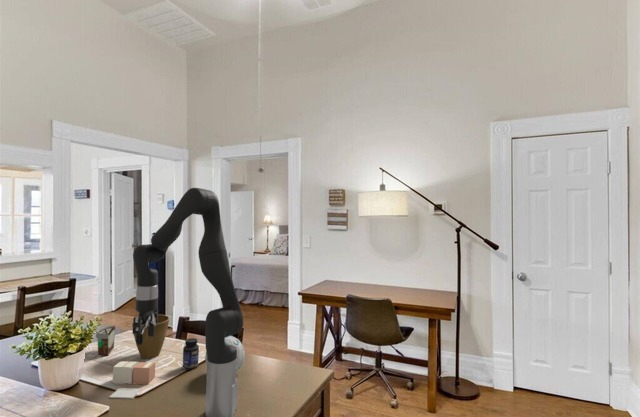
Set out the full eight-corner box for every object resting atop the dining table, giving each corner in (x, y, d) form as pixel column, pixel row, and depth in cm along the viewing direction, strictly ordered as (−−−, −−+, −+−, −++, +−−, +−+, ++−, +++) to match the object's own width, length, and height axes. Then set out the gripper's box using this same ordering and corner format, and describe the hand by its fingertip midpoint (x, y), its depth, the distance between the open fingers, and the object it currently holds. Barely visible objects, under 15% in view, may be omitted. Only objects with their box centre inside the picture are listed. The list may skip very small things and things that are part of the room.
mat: (141, 389, 123) (141, 388, 123) (132, 398, 117) (132, 397, 117) (119, 389, 123) (119, 388, 123) (109, 398, 117) (109, 396, 117)
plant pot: (132, 351, 157) (134, 316, 157) (168, 347, 162) (169, 313, 163) (128, 364, 143) (130, 326, 143) (167, 359, 149) (168, 322, 149)
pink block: (154, 378, 132) (155, 362, 132) (148, 384, 127) (149, 367, 127) (139, 378, 132) (139, 362, 132) (132, 383, 127) (133, 367, 127)
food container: (99, 347, 160) (100, 326, 160) (114, 346, 162) (115, 325, 162) (90, 358, 148) (91, 335, 148) (107, 357, 150) (108, 334, 150)
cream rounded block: (138, 377, 132) (138, 361, 132) (131, 383, 127) (132, 367, 127) (120, 377, 132) (120, 361, 132) (112, 383, 127) (113, 366, 127)
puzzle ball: (196, 377, 134) (197, 338, 134) (225, 363, 147) (226, 327, 147) (224, 387, 126) (225, 346, 126) (252, 372, 139) (253, 334, 139)
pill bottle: (192, 370, 139) (193, 343, 139) (179, 369, 140) (180, 341, 140) (201, 364, 145) (202, 338, 145) (188, 362, 146) (188, 336, 146)
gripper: (147, 302, 123) (145, 347, 123) (165, 293, 137) (164, 333, 137) (126, 301, 123) (124, 346, 123) (146, 292, 137) (145, 333, 137)
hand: (145, 340), depth 130 cm, fingers open, 8 cm apart
